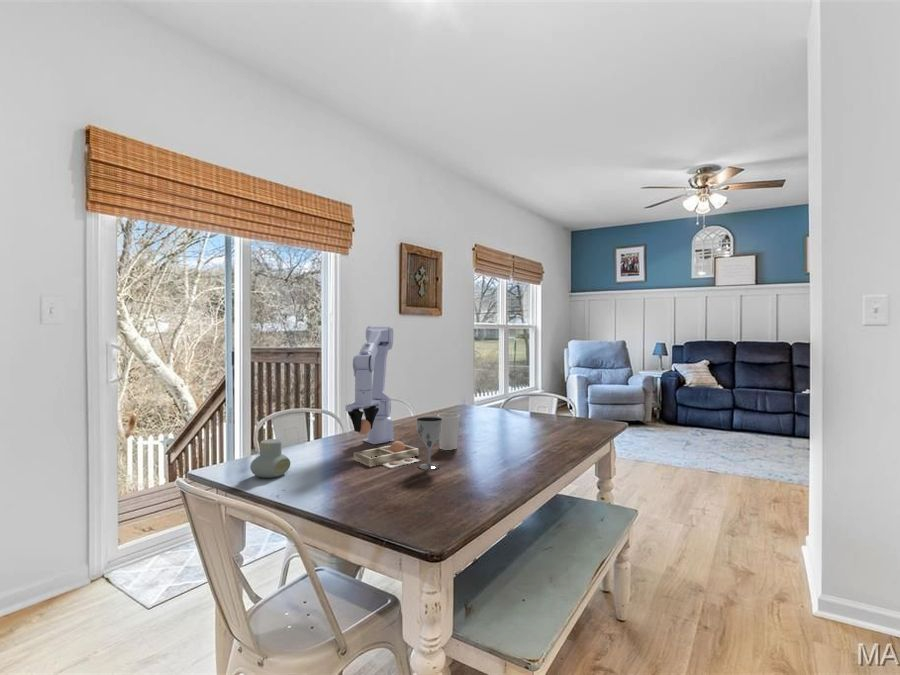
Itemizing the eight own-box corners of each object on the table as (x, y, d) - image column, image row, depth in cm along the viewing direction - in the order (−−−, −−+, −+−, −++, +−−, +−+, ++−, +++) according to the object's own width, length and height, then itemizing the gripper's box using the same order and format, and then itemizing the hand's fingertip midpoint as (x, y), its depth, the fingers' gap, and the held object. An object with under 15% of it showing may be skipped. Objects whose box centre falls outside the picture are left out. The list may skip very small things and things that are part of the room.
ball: (399, 453, 164) (399, 438, 164) (408, 456, 160) (408, 441, 160) (387, 455, 161) (387, 440, 161) (396, 458, 157) (396, 443, 157)
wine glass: (447, 466, 148) (447, 418, 148) (428, 472, 142) (429, 422, 142) (429, 462, 153) (429, 415, 153) (411, 467, 147) (411, 418, 147)
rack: (400, 450, 168) (400, 443, 168) (429, 459, 156) (429, 451, 156) (353, 460, 155) (353, 452, 155) (380, 470, 143) (381, 462, 143)
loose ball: (363, 431, 165) (363, 417, 165) (373, 433, 162) (373, 419, 162) (352, 434, 161) (352, 419, 161) (362, 436, 158) (362, 421, 158)
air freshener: (269, 482, 132) (269, 446, 132) (245, 479, 134) (245, 444, 134) (294, 471, 142) (294, 438, 142) (271, 469, 145) (271, 436, 144)
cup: (463, 447, 172) (463, 414, 172) (451, 452, 165) (451, 418, 165) (445, 444, 176) (445, 412, 176) (432, 449, 170) (433, 415, 169)
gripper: (370, 387, 169) (369, 425, 169) (339, 391, 157) (338, 432, 157) (384, 388, 165) (384, 427, 165) (354, 392, 153) (353, 434, 153)
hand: (363, 429), depth 161 cm, fingers closed on loose ball, 5 cm apart
